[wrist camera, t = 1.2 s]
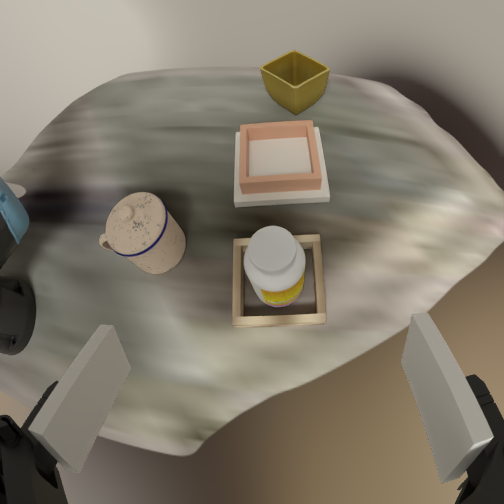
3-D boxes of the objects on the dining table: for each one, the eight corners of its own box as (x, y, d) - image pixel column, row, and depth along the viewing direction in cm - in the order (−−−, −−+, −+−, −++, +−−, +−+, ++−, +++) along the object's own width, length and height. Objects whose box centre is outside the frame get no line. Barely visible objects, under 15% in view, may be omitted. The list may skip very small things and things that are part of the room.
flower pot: (329, 104, 53) (331, 67, 44) (296, 126, 51) (295, 88, 43) (296, 84, 56) (294, 49, 47) (263, 103, 54) (258, 67, 46)
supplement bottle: (313, 284, 41) (321, 248, 29) (277, 318, 40) (270, 296, 28) (279, 250, 43) (273, 204, 32) (243, 282, 42) (223, 247, 31)
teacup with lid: (186, 215, 47) (158, 172, 37) (190, 270, 44) (158, 238, 33) (119, 231, 48) (80, 196, 37) (118, 283, 45) (73, 257, 34)
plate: (235, 207, 47) (229, 191, 43) (237, 138, 52) (232, 120, 48) (329, 202, 45) (331, 185, 41) (318, 132, 50) (318, 114, 46)
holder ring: (236, 327, 40) (232, 324, 38) (236, 245, 44) (233, 238, 42) (324, 323, 39) (326, 321, 37) (318, 241, 43) (319, 234, 41)
